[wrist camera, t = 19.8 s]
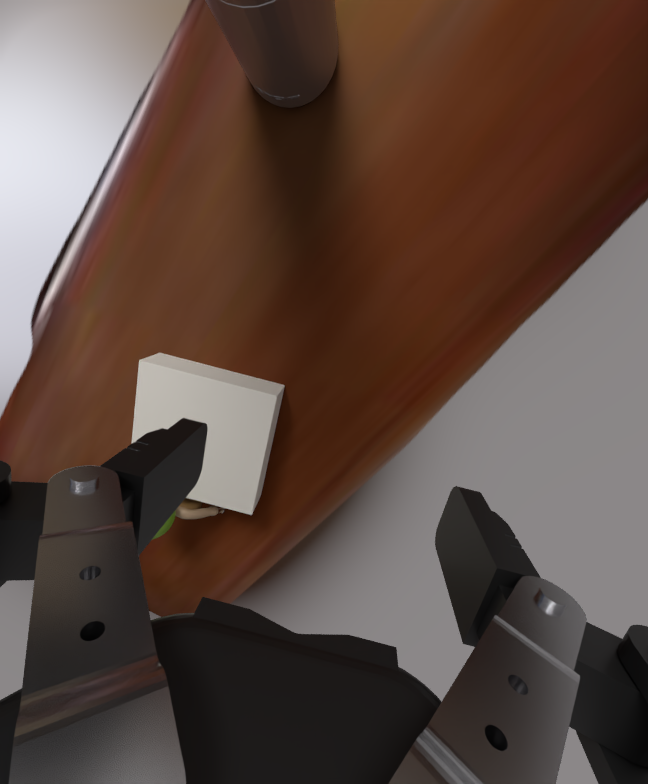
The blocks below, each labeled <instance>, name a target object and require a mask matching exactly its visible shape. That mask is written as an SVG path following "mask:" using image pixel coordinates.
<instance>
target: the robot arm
mask: <svg viewBox="0 0 648 784" xmlns="http://www.w3.org/2000/svg"><path fill="white" fill-rule="evenodd" d="M206 2H207V4H208V6H209V8H210V9H211V11H212V13H213V15H214V17H215V19H216V20H217V22H218V24H219V26H220V28H221V30H222V31H223V33H224V35H225V37H226V39H227V41H228V42H229V44H230V46H231V48H232V50H233V52H234V53H235V55H236V57H237V59H238V61H239V63H240V64H241V66H242V68H243V70H244V72H245V74H246V75H247V77H248V79H249V81H250V82H251V84H252V85H253V87H254V89H255V90H256V91H257V92H258V93H259V94H260V95H261V96H262V97H263V98H264V99H265V100H267V101H268V102H270V103H271V104H274V105H277V106H280V107H287V108H293V107H299V106H302V105H305V104H307V103H309V102H311V101H312V100H314V99H315V98H316V97H318V96H319V95H320V94H321V93H322V91H323V90H324V89H325V88H326V87H327V85H328V83H329V82H330V80H331V78H332V76H333V73H334V70H335V68H336V63H337V58H338V34H337V23H336V11H335V0H206ZM207 431H208V427H207V424H206V423H202V422H198V421H194V420H190V419H186V418H182V419H180V420H179V421H178V422H177V423H175V424H174V425H173V426H171V427H170V428H169V429H163V428H161V429H158V430H155V431H152V432H149V433H146V434H145V435H143V436H142V437H141V438H139V439H138V440H136V442H133V443H132V444H131V445H129V446H128V447H127V449H126V448H125V449H124V450H122V451H121V452H119V453H118V454H117V455H115V456H114V457H112V458H111V459H109V460H108V461H107V462H105V463H104V464H102V465H101V466H78V467H73V468H69V469H66V470H63V471H61V472H59V473H57V474H56V475H54V476H53V477H52V478H51V479H50V480H49V482H48V483H34V482H12V481H11V468H10V466H9V465H8V464H7V463H5V462H3V461H0V587H1V586H2V585H3V584H4V583H5V582H6V581H7V580H34V588H33V597H32V606H31V615H30V624H29V632H28V641H27V650H26V659H25V668H24V678H23V687H22V689H20V690H18V691H16V692H14V693H13V694H11V695H9V696H7V697H5V698H3V699H2V700H0V784H556V780H557V776H558V771H559V767H560V763H561V759H562V754H563V750H564V745H565V741H566V737H567V733H568V729H569V727H571V728H573V729H575V730H576V732H577V735H578V737H579V740H580V742H581V744H582V746H583V749H584V751H585V753H586V756H587V758H588V760H589V763H590V764H591V767H592V769H593V772H594V774H595V776H596V779H597V781H598V783H599V784H648V627H647V626H642V625H633V626H631V627H630V628H629V629H628V631H627V633H626V634H625V636H624V638H623V639H621V638H619V637H617V636H615V635H613V634H610V633H608V632H606V631H604V630H602V629H600V628H598V627H596V626H593V625H592V624H590V623H588V622H586V615H585V613H584V611H583V609H582V608H581V607H580V605H579V604H578V603H577V602H576V601H575V600H574V599H573V598H572V597H571V596H570V595H569V594H568V593H566V592H565V591H564V590H563V589H561V588H559V587H558V586H556V585H554V584H553V583H551V582H549V581H547V580H544V579H542V578H540V576H539V574H538V573H537V571H536V569H535V568H534V566H533V564H532V563H531V561H530V559H529V558H528V556H527V555H526V553H525V551H524V550H523V549H521V545H520V543H519V541H518V540H517V539H515V535H514V533H513V532H512V530H511V528H510V527H509V525H508V524H507V523H506V522H505V521H504V520H503V519H502V518H501V517H500V516H499V515H498V514H497V513H495V512H493V511H491V510H490V508H489V506H488V504H487V503H486V501H485V499H484V497H483V496H482V494H481V493H480V492H477V491H473V490H469V489H465V488H460V487H457V486H456V487H454V488H453V489H452V491H451V493H450V495H449V498H448V501H447V504H446V506H445V509H444V511H443V514H442V517H441V519H440V522H439V525H438V528H437V531H436V537H435V545H436V550H437V554H438V557H439V561H440V564H441V568H442V571H443V575H444V578H445V582H446V585H447V589H448V592H449V596H450V599H451V603H452V607H453V610H454V613H455V617H456V620H457V624H458V627H459V631H460V634H461V638H462V642H463V644H466V645H470V646H474V647H475V648H474V650H473V652H472V653H471V655H470V657H469V658H468V660H467V662H466V663H465V665H464V667H463V668H462V670H461V671H460V673H459V675H458V676H457V678H456V679H455V681H454V683H453V684H452V686H451V688H450V689H449V691H448V692H447V694H446V696H445V697H444V699H443V701H442V702H441V701H440V700H439V698H438V697H437V696H436V695H435V694H434V693H433V692H432V691H431V690H430V689H429V688H428V687H426V686H425V685H424V684H423V683H422V682H420V681H419V680H418V679H417V678H415V677H414V676H412V675H411V674H409V673H408V672H406V671H405V670H403V669H401V668H399V667H398V660H397V650H396V647H393V646H388V645H385V644H381V643H378V642H374V641H370V640H366V639H362V638H358V637H354V636H350V635H321V634H297V633H294V632H291V631H290V630H288V629H286V628H284V627H282V626H280V625H278V624H276V623H275V622H273V621H271V620H269V619H267V618H265V617H263V616H261V615H260V614H258V613H256V612H254V611H252V610H250V609H247V608H243V607H239V606H235V605H232V604H228V603H224V602H220V601H216V600H213V599H209V598H205V597H202V599H201V601H200V603H199V605H198V607H197V609H196V611H195V613H184V614H174V615H169V616H165V617H161V618H157V619H154V620H150V615H149V609H148V604H147V599H146V593H145V588H144V583H143V577H142V572H141V566H140V561H139V555H140V553H141V552H142V551H143V550H144V548H145V547H146V546H147V545H148V544H149V542H150V541H151V540H152V539H153V537H154V536H155V535H156V534H157V532H158V531H159V530H160V529H161V527H162V526H163V525H164V524H165V523H166V521H167V520H168V519H169V518H170V516H171V515H172V514H173V513H174V511H175V510H176V509H177V508H178V506H179V505H180V504H181V503H182V502H183V500H184V499H185V498H186V497H187V495H188V494H189V493H190V492H191V490H192V489H193V488H194V487H195V485H196V484H197V482H198V480H199V477H200V474H201V471H202V466H203V459H204V452H205V445H206V438H207Z"/></svg>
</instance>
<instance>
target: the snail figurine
mask: <svg viewBox="0 0 648 784" xmlns="http://www.w3.org/2000/svg"><path fill="white" fill-rule="evenodd" d="M201 506H202V502H200V501H197V500H193V499H189V498H185V499H184V500H183V502H182V503H181V504H180V505H179V506H178V508H177V509H176V510H175V511H174V513H173V514H172V515H171V516H170V518H169V519H168V520H167V521H166V523H165V524H164V525H163V526H162V527H161V529H160V530H159V531H158V532H157V534H156V535H155V536H154V537H153V539H155V538H158V537H160V536H161V535H163V534H164V533H166V532H167V531H168V530H169V528H170V527H171V526H172V524H173V522H174V519H175V516H177V517H179V518H182V519H199V518H204V517H208V516H215V515H217V514H218V510H219V509H218V508H217V507H216V506H210V507H209V508H201ZM200 508H201V509H200ZM220 509H222V510H221V511H220V512H219V513H224V510H223V509H225V508H223V507H222V508H220Z"/></svg>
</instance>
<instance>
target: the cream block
mask: <svg viewBox="0 0 648 784" xmlns="http://www.w3.org/2000/svg"><path fill="white" fill-rule="evenodd" d="M284 388H285V385H282V384H278V383H274V382H271V381H267V380H263V379H259V378H255V377H251V376H247V375H244V374H240V373H236V372H232V371H228V370H224V369H220V368H217V367H213V366H209V365H205V364H201V363H197V362H194V361H190V360H186V359H182V358H178V357H174V356H170V355H167V354H163V353H158V354H155V355H152V356H150V357H147V358H144V359H141V360H139V370H138V380H137V391H136V402H135V413H134V423H133V434H132V443H133V442H136V440H138V439H139V438H141V437H142V436H143V435H145V434H146V433H149V432H152V431H155V430H158V429H161V428H163V429H169V428H170V427H171V426H173V425H174V424H175V423H177V422H178V421H179V420H180V419H182V418H186V419H190V420H194V421H198V422H202V423H206V424H207V427H208V431H207V438H206V445H205V452H204V459H203V466H202V471H201V474H200V477H199V480H198V482H197V484H196V485H195V487H194V488H193V489H192V490H191V492H190V493H189V494H188V495H187V497H186V498H189V499H193V500H197V501H200V502H204V503H208V504H212V505H215V506H219V507H223V508H227V509H230V510H234V511H238V512H242V513H245V514H249V515H252V514H253V511H254V509H255V507H256V505H257V503H258V501H259V499H260V496H261V493H262V488H263V484H264V479H265V475H266V470H267V465H268V461H269V456H270V452H271V447H272V442H273V438H274V433H275V429H276V424H277V420H278V415H279V410H280V406H281V401H282V397H283V392H284Z"/></svg>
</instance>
